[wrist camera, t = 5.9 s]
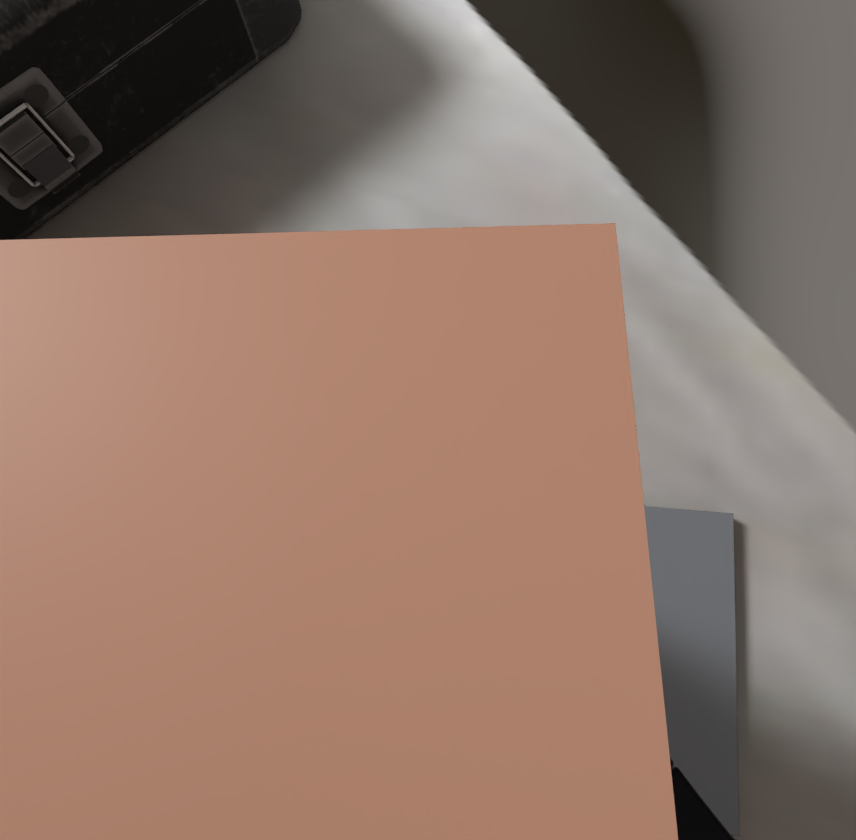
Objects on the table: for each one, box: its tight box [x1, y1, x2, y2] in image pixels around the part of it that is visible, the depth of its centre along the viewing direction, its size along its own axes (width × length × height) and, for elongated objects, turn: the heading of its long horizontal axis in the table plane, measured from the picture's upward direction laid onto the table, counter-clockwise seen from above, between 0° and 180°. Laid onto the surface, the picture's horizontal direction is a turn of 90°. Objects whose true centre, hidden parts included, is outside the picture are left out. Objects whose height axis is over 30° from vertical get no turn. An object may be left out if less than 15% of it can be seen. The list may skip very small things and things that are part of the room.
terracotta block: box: [0, 223, 678, 840], centre depth 10 cm, size 6×6×16 cm
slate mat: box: [644, 506, 739, 836], centre depth 22 cm, size 10×10×1 cm
